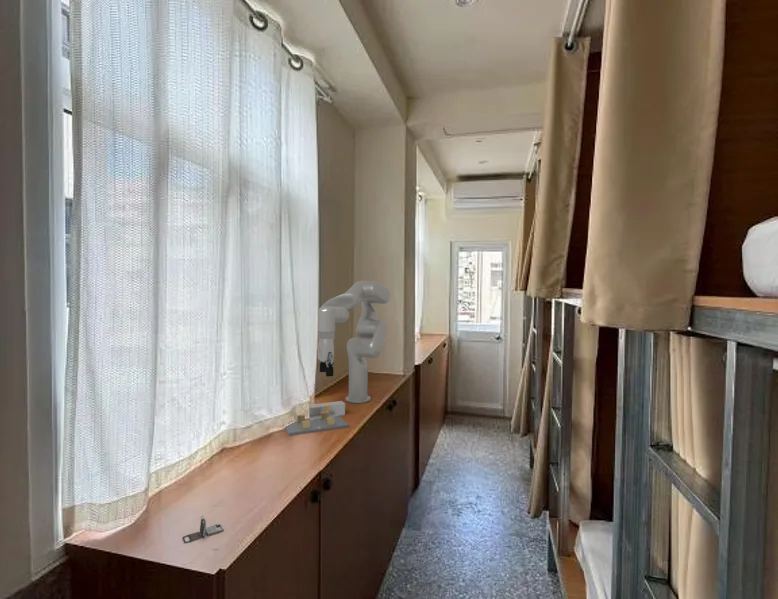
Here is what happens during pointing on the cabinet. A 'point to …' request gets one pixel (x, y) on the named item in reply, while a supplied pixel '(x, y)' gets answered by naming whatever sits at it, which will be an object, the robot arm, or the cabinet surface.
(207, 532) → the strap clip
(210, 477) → the cabinet surface
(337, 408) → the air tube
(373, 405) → the cabinet surface
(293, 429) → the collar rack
